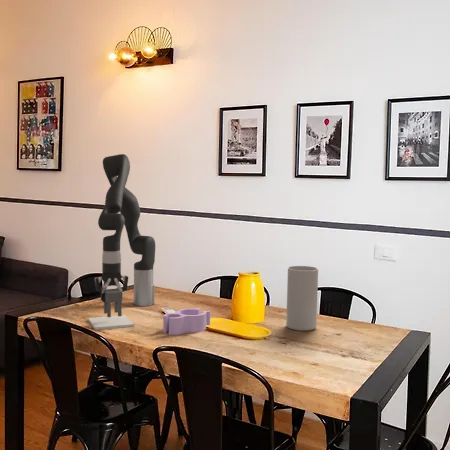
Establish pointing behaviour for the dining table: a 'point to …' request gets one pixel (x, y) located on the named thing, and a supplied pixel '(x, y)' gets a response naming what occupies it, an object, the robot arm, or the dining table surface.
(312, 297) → the cylinder vase
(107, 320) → the grey mat
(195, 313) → the clip
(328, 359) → the dining table surface
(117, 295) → the charcoal stool
